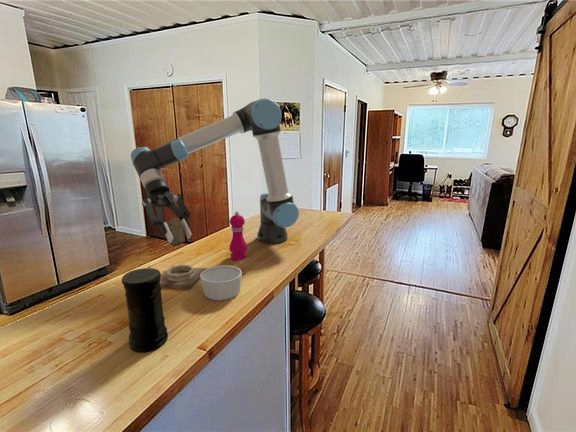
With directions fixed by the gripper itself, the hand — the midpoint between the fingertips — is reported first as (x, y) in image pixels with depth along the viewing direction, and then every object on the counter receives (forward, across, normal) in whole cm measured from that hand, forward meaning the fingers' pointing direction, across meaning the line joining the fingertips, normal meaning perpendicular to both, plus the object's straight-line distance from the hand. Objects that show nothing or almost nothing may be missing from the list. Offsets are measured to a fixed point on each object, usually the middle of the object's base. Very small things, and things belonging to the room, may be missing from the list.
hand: (180, 238), depth 106 cm
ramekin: (+23, -5, -1) cm, 23 cm away
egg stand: (+9, 0, -14) cm, 17 cm away
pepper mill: (+8, -27, -15) cm, 32 cm away
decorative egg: (0, 0, -5) cm, 5 cm away
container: (+28, +22, +5) cm, 36 cm away
